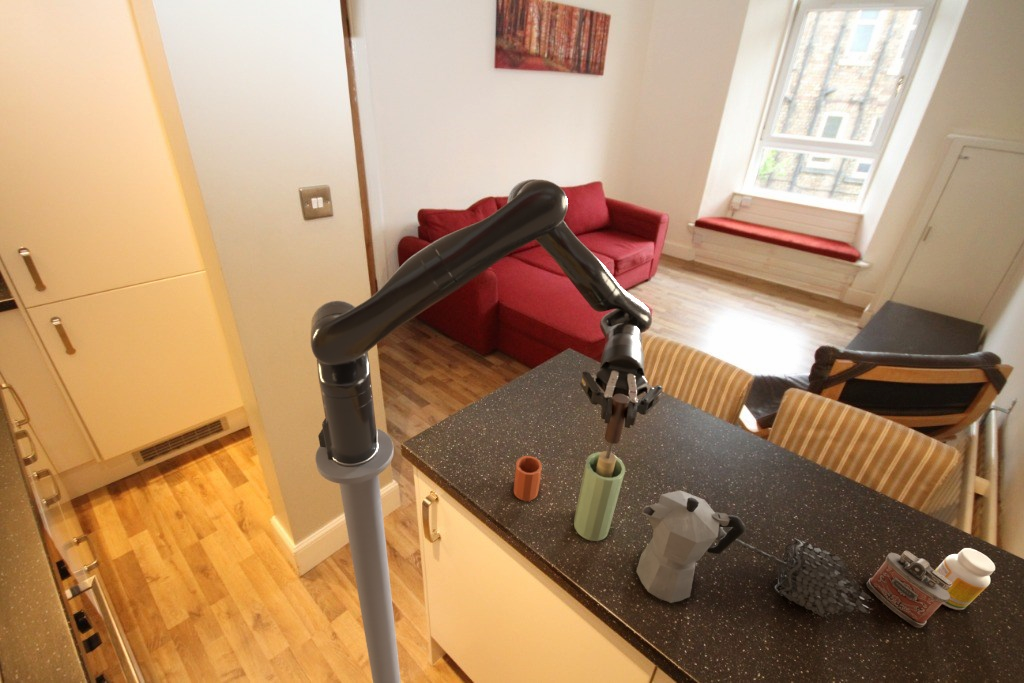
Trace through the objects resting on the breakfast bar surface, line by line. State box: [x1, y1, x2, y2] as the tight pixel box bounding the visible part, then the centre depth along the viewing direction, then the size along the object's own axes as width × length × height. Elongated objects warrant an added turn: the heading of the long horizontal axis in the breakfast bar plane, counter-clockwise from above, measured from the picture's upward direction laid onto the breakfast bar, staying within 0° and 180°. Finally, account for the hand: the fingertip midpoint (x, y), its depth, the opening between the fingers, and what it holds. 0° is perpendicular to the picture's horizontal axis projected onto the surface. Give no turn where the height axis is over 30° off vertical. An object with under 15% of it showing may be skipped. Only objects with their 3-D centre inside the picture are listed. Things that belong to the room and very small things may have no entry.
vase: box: [573, 451, 626, 542], centre depth 78 cm, size 6×6×15 cm
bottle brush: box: [595, 394, 629, 478], centre depth 72 cm, size 3×3×18 cm
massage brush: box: [715, 527, 875, 620], centre depth 72 cm, size 9×22×9 cm, turn 58°
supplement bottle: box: [935, 547, 996, 611], centre depth 72 cm, size 5×5×10 cm
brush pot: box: [513, 455, 543, 502], centre depth 85 cm, size 5×5×7 cm
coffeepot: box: [635, 490, 746, 604], centre depth 69 cm, size 15×9×18 cm, turn 85°
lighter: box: [866, 550, 952, 629], centre depth 70 cm, size 8×3×10 cm, turn 27°
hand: (618, 420), depth 66 cm, fingers closed on bottle brush, 2 cm apart
